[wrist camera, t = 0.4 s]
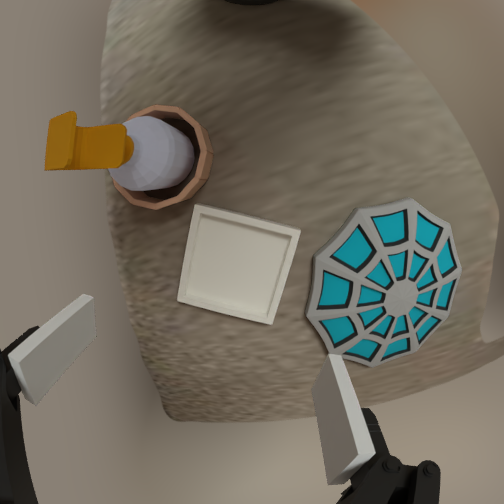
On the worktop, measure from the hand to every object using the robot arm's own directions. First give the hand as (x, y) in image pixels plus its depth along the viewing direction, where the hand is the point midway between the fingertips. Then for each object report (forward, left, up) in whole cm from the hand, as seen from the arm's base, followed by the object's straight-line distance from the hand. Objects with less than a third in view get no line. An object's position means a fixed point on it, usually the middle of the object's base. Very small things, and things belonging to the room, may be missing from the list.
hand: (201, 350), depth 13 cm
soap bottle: (-9, -14, -28) cm, 33 cm away
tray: (+4, 0, -28) cm, 28 cm away
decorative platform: (+2, +26, -28) cm, 39 cm away
